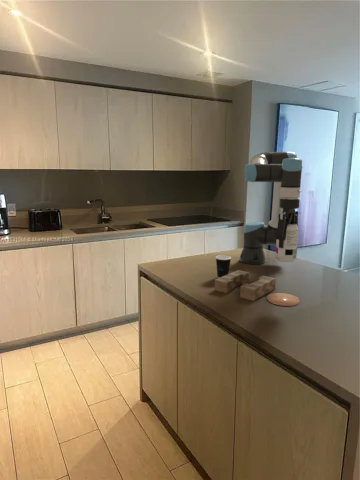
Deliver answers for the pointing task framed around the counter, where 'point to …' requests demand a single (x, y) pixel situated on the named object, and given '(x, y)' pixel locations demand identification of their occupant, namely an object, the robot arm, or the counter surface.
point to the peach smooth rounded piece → (283, 299)
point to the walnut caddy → (245, 284)
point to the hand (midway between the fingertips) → (286, 253)
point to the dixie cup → (222, 265)
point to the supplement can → (289, 244)
